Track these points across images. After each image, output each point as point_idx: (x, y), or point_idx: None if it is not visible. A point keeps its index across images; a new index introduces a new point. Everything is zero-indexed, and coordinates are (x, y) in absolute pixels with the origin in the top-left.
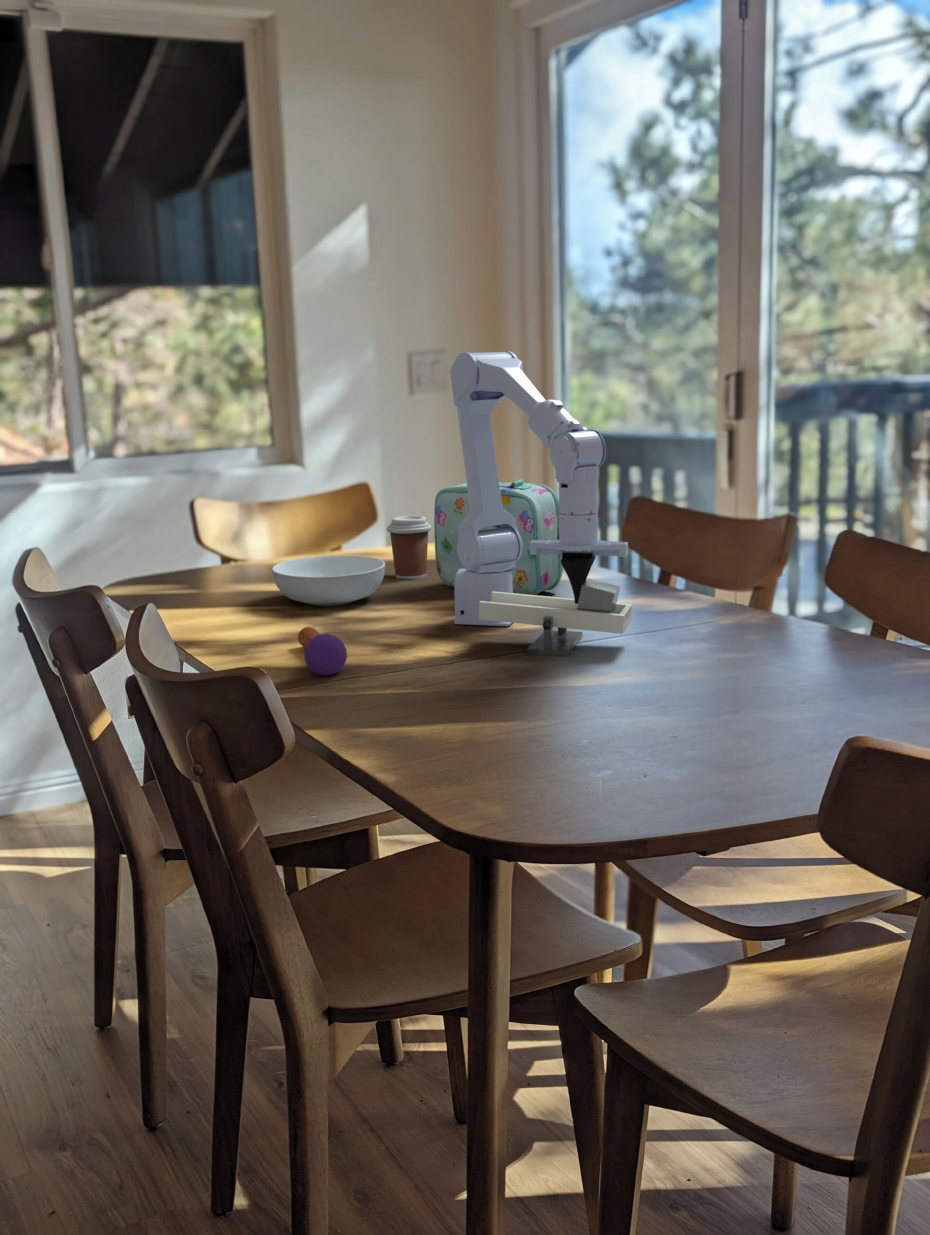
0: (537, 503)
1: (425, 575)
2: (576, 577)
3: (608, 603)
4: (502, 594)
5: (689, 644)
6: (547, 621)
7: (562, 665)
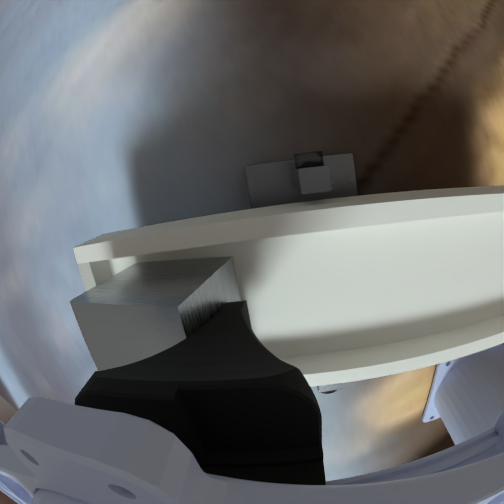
0: None
1: None
2: (209, 345)
3: (107, 284)
4: (494, 333)
5: (73, 337)
6: (308, 158)
7: (225, 86)
